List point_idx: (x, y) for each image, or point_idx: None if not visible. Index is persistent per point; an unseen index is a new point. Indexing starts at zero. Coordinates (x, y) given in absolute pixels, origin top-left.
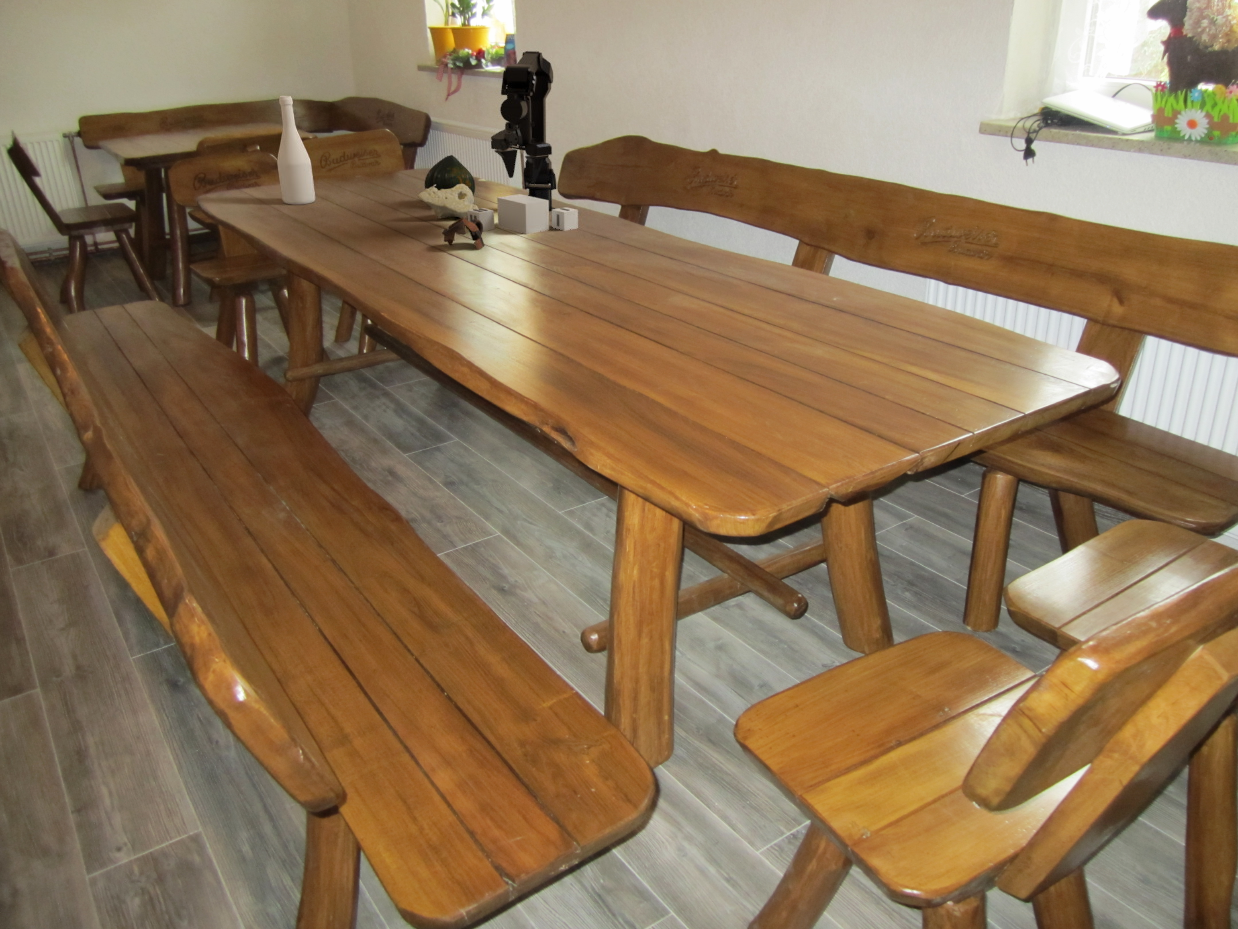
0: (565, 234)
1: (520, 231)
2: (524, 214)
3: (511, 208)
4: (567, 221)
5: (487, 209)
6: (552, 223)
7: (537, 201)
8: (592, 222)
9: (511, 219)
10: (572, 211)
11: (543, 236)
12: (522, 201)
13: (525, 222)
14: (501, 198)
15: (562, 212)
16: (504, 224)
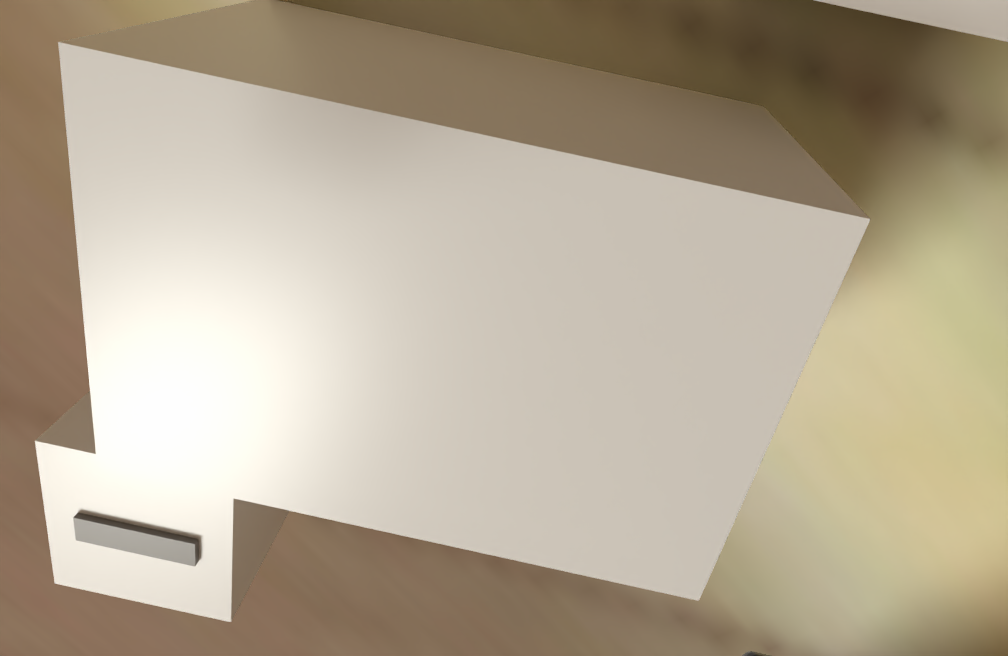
0: (11, 229)
1: (366, 22)
2: (191, 29)
3: (480, 101)
4: None
5: (934, 3)
6: None
7: (128, 334)
8: (222, 646)
9: (507, 73)
10: (52, 525)
11: (62, 22)
12: (276, 198)
13: (222, 14)
14: (746, 195)
15: (67, 442)
16: (652, 90)
